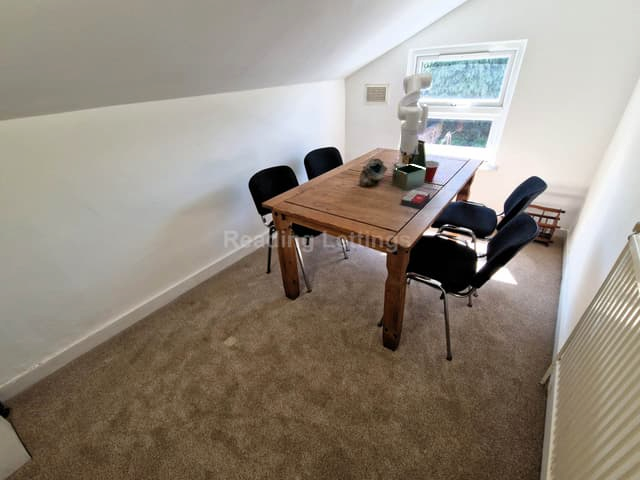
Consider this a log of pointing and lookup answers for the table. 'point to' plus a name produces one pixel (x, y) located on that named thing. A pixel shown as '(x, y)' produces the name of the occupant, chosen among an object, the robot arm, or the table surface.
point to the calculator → (415, 199)
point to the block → (406, 159)
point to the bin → (408, 177)
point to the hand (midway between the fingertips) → (407, 162)
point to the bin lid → (420, 155)
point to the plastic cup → (430, 170)
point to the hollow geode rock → (372, 172)
